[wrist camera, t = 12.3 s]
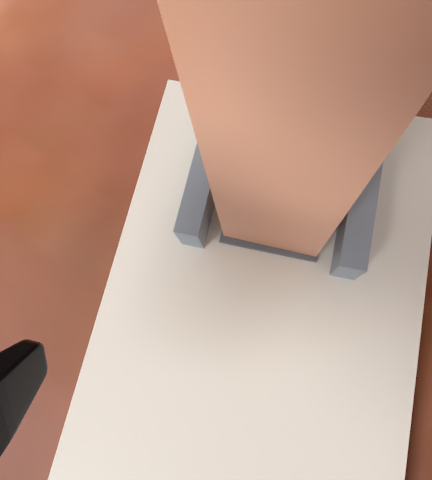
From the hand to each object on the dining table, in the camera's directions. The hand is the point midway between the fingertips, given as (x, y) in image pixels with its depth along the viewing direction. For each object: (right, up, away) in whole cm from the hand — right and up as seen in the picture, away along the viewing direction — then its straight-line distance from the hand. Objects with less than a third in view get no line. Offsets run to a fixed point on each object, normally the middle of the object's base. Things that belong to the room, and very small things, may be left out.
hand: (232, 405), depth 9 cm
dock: (+1, 0, +9) cm, 9 cm away
